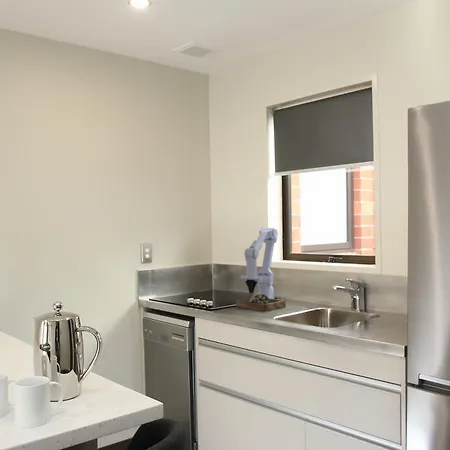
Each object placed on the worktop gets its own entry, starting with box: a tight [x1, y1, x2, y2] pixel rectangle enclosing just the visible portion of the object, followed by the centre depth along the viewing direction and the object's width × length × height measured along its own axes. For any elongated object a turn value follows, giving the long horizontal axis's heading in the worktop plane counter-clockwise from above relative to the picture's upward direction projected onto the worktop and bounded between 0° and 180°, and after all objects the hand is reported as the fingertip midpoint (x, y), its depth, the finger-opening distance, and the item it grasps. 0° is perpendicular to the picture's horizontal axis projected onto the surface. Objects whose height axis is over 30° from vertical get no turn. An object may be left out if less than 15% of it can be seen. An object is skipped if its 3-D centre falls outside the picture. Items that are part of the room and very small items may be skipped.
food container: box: [246, 292, 270, 304], centre depth 290 cm, size 12×6×10 cm
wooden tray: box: [235, 298, 287, 312], centre depth 291 cm, size 18×21×4 cm
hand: (251, 293), depth 296 cm, fingers closed
